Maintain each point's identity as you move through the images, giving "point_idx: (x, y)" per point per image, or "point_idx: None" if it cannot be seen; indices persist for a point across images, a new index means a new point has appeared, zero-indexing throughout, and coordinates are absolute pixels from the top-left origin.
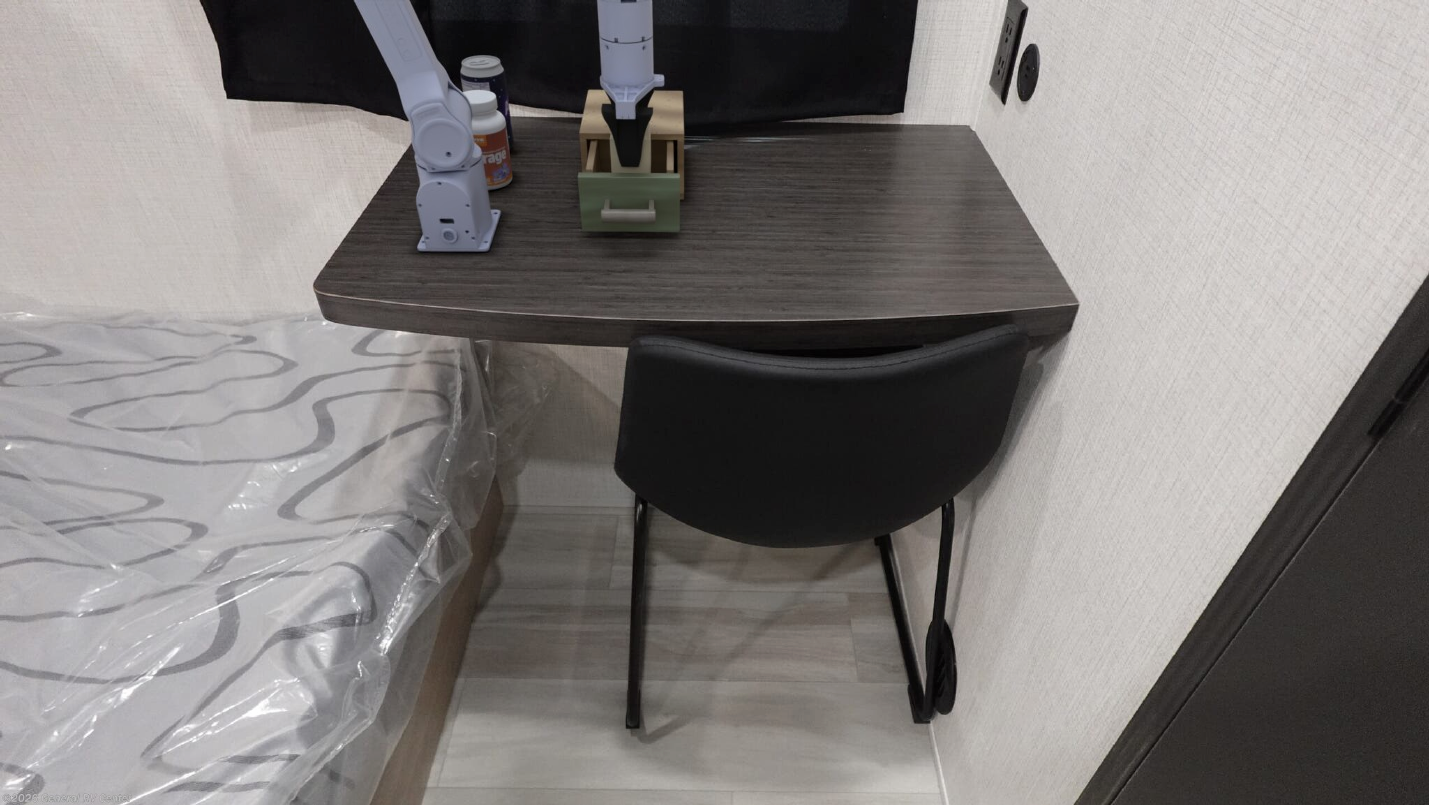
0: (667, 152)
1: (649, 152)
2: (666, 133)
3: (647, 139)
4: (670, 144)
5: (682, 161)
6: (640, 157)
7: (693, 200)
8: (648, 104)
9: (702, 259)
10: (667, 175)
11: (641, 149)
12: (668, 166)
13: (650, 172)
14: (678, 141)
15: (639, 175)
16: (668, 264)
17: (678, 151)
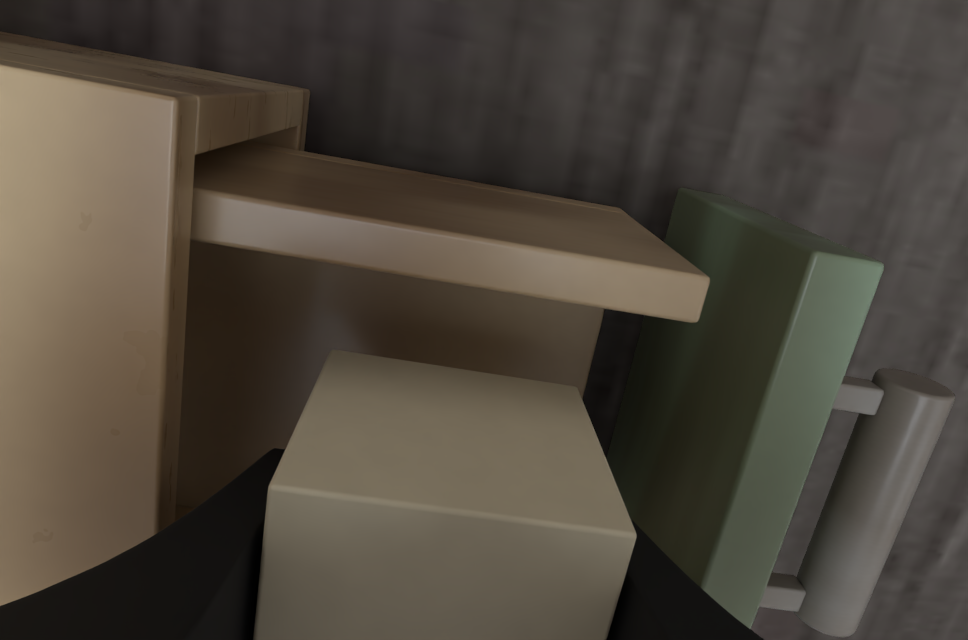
0: (398, 270)
1: (610, 470)
2: (164, 262)
3: (633, 547)
4: (242, 220)
5: (252, 103)
6: (635, 524)
7: (323, 36)
8: (188, 635)
9: (917, 121)
10: (826, 342)
11: (669, 560)
12: (651, 303)
13: (568, 391)
14: (202, 146)
15: (769, 514)
16: (903, 276)
17: (230, 139)
